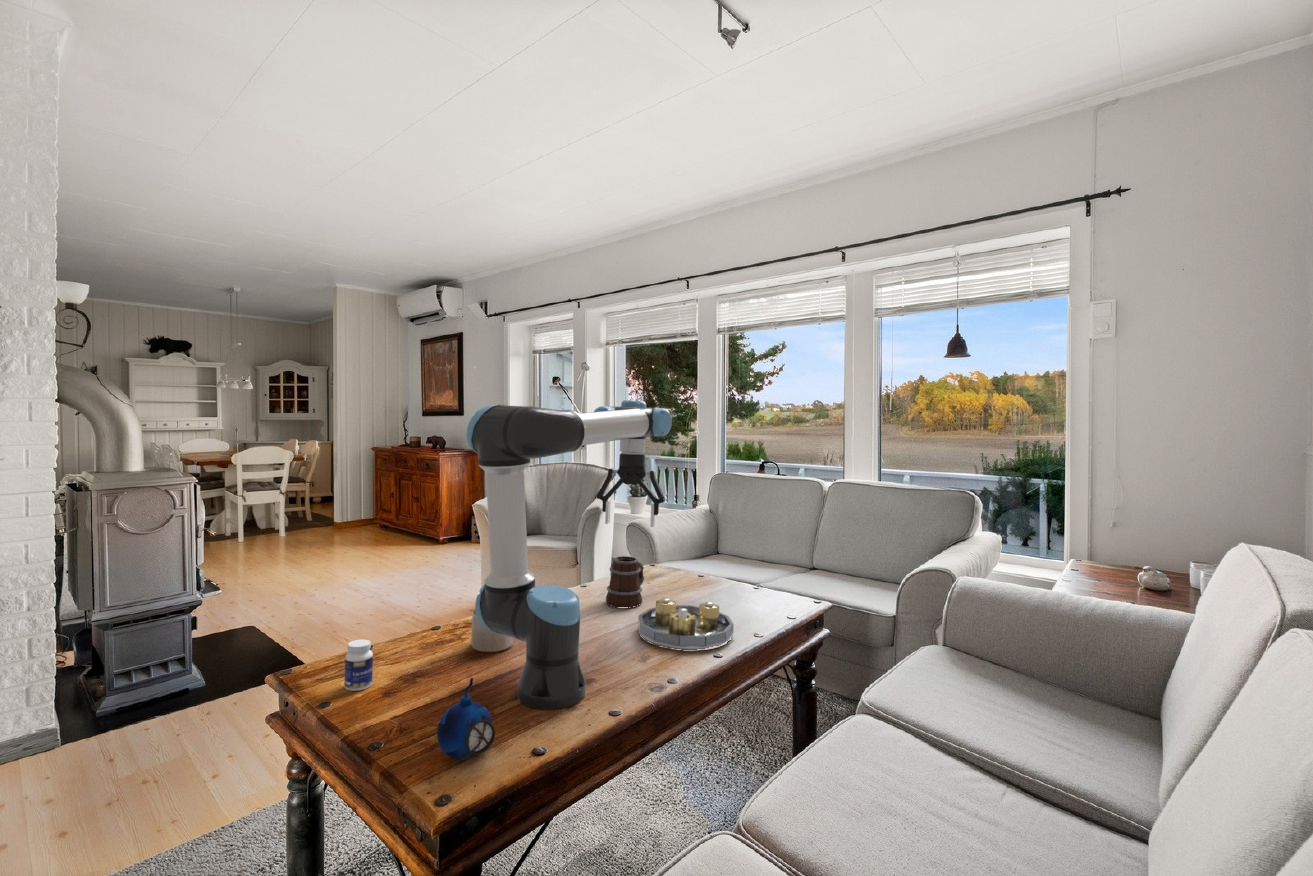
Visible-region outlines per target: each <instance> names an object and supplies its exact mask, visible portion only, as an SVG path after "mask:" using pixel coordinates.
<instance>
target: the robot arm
mask: <svg viewBox="0 0 1313 876" xmlns="http://www.w3.org/2000/svg"><path fill="white" fill-rule="evenodd" d="M672 420H673V419H672V415H671V413H670V411H669V410H668V409H667V408H662V407H661V408H660V407H647V403H646V402H645V401H644V400H629V399H628V400H622V401H621V404H620V406H615V405H613V406H612V405H611V406H610V405H605V406H604V405H603V406H602V405H601V406H598V407H596V409H594V411H591V412H581V413H580V412H579V413H578V412H577V411H575V410H572V409H553V408H545V407H537V406H531V405H530V406H529V405H527V406H524V405H523V406H522V405H519V406H518V405H507V404H506V405H505V404H497V405H486V406H484V407H482V408H479V409H478V410H477V411H476V412H475V413H474V414H473V416H472V417H471V418H470V420H469V422H468V425H467V428H466V442H467V444H468V446H469V448H470V449H472V451H473V452H475V454H477V458H478V460H477V462H478V466H479V467H480V468H481V470H483V471H484V473H485V479H486V480H485V482H486V501H487V524H488V544H489V564H490V573H488V575H487V576H486V577H485V579H484V584H483V585H482V586H481V588H480V589H479V594H477V595H476V599H475V602H474V603H475V609H476V614H477V617H478V619H479V621H480V622H481V624H482V625H483V626H485V627H486V628H488V629H490V630H492V631H494V632H495V633H498V634H504V635H507V636H510V637H513V639H516V640H519V641H522V642H525V643H526V646H525V647H526V649H525V650H526V653H525V655H526V656H525V663H524V665H523V669H522V671H521V674H520V677H519V680H518V683H517V687H516V688H517V689H516V690H517V691H516V697H517V700H518V701H519V702H520V703H521V704H523V706H524V705H525V706H527V707H530V708H533V709H538V710H539V709H540V710H557V709H558V710H559V709H564V708H567V707H571V706H573V705H575V704H577V703H579V702H580V701H582V700H583V698H584V697H585V696H586V681H585V678H584V674H583V670H582V667H581V663H580V661H579V654H580V653H579V649H580V648H579V647H580V645H579V644H580V628H581V625H580V624H581V608H580V607H581V605H580V598H579V596H578V594H577V592H575V591H573V590H572V589H570V588H567V587H565V586H561V585H557V584H556V585H552V584H540V585H537V586H536V575H535V574H534V573H533V572H532V571H531V570H529V562H528V560H529V559H528V537H527V535H528V534H527V515H526V510H527V509H526V484H525V470H526V469H527V467H528V466H529V465H530V464H531V460H534V459H540V458H541V459H542V458H547V457H551V456H556V455H560V454H566V453H571V452H576V451H577V450H580V449H581V447H583V446H587V445H595V444H602V443H609V442H613V441H619V452H621V453H620V454H619V463H618V466H619V467H618V468H617V469H615V468H614V467H610V468H608V471H607V476H606V478H605V480H604V482H603V484H602V486H601V487H600V489H599V491H598V493H597V495H596V499H598V500H601V502H602V507H601V509H602V512H603V513H605V516H604V517H605V519H604V520H605V521H604V524H605V525H608V524H610V523H611V504H612V503H611V502H612V501H611V500H609V499H610V498H611V497H612V496H613V495H614V494H615V492H616V491H618V489H619V488H620V487H621V486H622V485H623V484H625V485H631V486H637V485H638V486H640V487H641V489H643V491H644V492H645V494H646V495H647V497H648V498H649V499H650V501H652V502H653V503H652V504H651V505H650V508H651V509H650V528H654V527H655V523H656V516H658V515H659V513H660V512H659V511H660V504H663V503H665V501H666V498H665V495H664V493H663V490H662V489H661V486H660V484H659V481H658V480H657V478H656V470H654V469H652V470H646V468H645V466H646V465H645V463H646V455H645V454H644V453H645V452H646V442H647V441H646V439H647V438H646V437H649V436H650V437H665V436H666V435H668V434H669V433H670V432H671V428H672ZM616 474H617V475H618V477H619V479H618V481H617V482H615V484H614V485H613V486H612V488H610V490H608V492H607V493H606V490H607V489H608V487H609V485H610V484H611V481H612V479H613V477H614V476H616ZM646 476H647V478H648V479H650V482H651V485H652V486H653V488H654V491H655V493H656V495H655V493H654V492H653V490H652V489H651V488H650V487H649V485H648V484H647V483H646V481H645V480H644V478H645V477H646ZM605 493H606V494H605Z"/></svg>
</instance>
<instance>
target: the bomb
mask: <svg viewBox="0 0 1313 876" xmlns="http://www.w3.org/2000/svg"><path fill="white" fill-rule="evenodd" d="M469 680H470V681H469V684H468V686H466V687H465V690H464V695H462V696H461V697H460V698H459V701H458V702H457V703H455V704H453V705H452V706H450V707H449V708H448V709H447V710H446V711H444V713H443V715H442V716H441V717H440V720H439V722H438V724H437V728H436V729H437V730H436V739H437V742H438V746H439V748H440V750H441V751H442V752H443V754H445V755H446V756H447V757H449V758H452V759H453V760H457V761H458V760H459V761H465V760H466V761H467V760H469V759H473V758H475V757H477V756H479V755H481V754H483V753H485V752H486V751H487V750H488V749H489V748H490V747H491V746H492V744H493V743H494V741H495V739H496V732H497V731H496V729H495V726H494V723H493V718H492V715H491V713H490V712H489V710H488V709H487V708H486V706H484V705H483V704H482V703H479V702H478V701H474V700H472V699H473V698H472V696H471V695H468V693H469V689H471V687H472V686H473V683H474V678H473V677H470V678H469Z"/></svg>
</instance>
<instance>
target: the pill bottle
mask: <svg viewBox="0 0 1313 876" xmlns="http://www.w3.org/2000/svg"><path fill="white" fill-rule="evenodd" d="M371 645H372V642H371V641H370V640H368V639H355V640H352V641H350V642H348V644H347V651H348V652H347V653H346V655H345V657H344V681H343V682H344V688H345V690H347V691H349V692H357V691H362V690H363V691H364V690H365V689H368V688H370V687H371V686H372V685H373V670H374V669H373V668H374V666H373V664H374V653H373V651H372V649H371V647H372V646H371ZM370 649H371V650H370Z"/></svg>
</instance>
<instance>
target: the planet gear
mask: <svg viewBox="0 0 1313 876" xmlns="http://www.w3.org/2000/svg"><path fill="white" fill-rule="evenodd" d="M678 616H679V612H677V613H675V614H674V613H671V614H670V616H669V633H670V634H675V635H680V636H695V623H696V616H695V615H691V613H687V618H686V619H681V618H678Z"/></svg>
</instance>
